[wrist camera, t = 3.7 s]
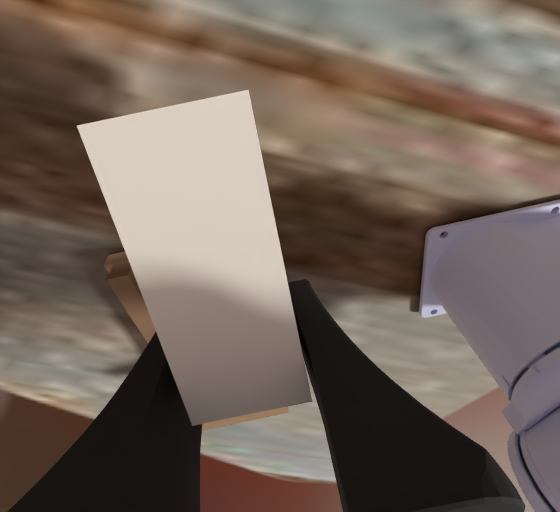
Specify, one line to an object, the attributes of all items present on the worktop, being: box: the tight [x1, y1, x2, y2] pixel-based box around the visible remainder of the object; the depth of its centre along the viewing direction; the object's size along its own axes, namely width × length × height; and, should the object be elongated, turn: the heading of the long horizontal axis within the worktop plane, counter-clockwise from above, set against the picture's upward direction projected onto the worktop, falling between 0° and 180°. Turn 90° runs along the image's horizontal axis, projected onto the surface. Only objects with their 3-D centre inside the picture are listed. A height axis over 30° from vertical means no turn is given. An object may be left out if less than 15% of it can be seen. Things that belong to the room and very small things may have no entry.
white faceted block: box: [77, 90, 312, 426], centre depth 10 cm, size 3×7×6 cm, turn 9°
